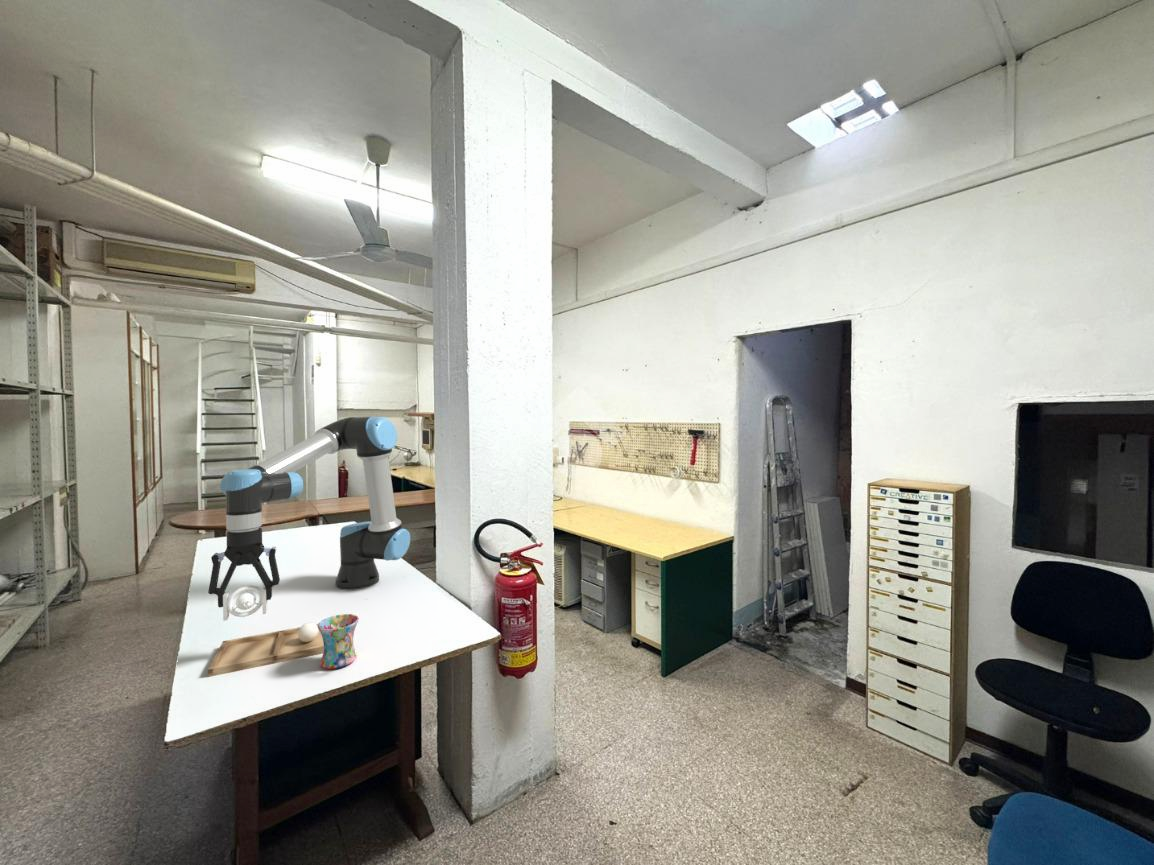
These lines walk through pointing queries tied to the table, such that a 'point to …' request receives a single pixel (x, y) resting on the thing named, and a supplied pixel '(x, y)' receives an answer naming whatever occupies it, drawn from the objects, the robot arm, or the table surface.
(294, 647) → the divided wooden tray
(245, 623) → the table surface
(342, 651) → the floral vase
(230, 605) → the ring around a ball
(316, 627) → the ceramic egg
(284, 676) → the table surface
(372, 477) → the robot arm
